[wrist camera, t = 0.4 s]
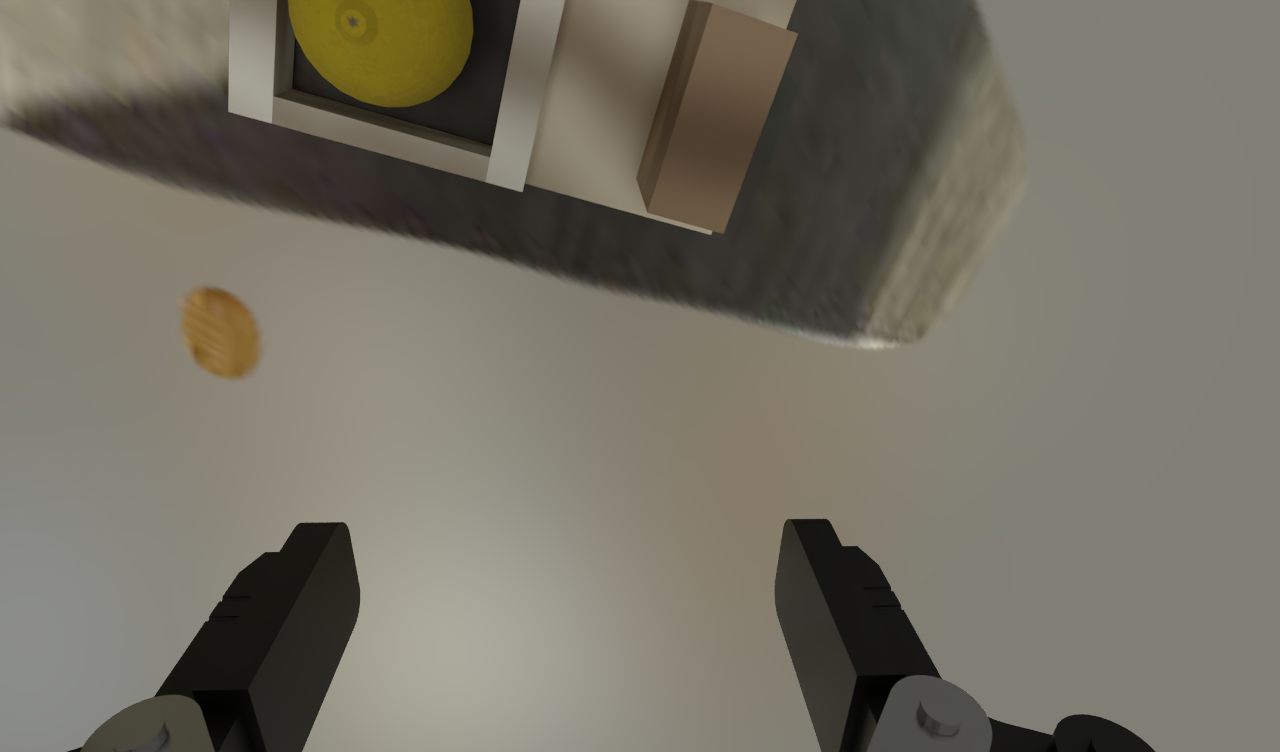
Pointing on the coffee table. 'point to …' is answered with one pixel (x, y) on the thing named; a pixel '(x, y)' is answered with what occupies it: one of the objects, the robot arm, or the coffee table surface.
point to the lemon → (385, 46)
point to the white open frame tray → (573, 101)
